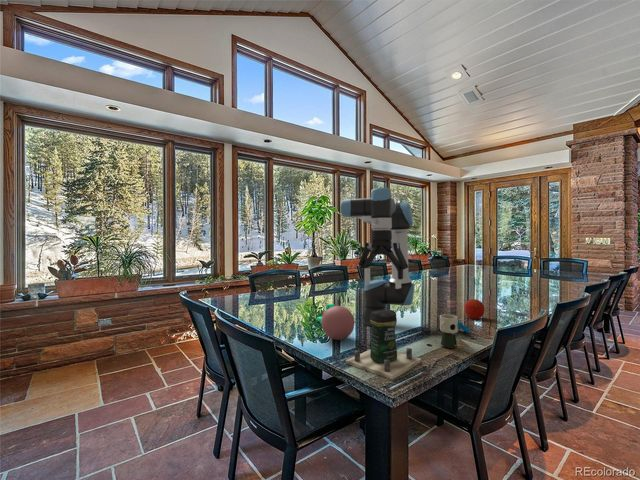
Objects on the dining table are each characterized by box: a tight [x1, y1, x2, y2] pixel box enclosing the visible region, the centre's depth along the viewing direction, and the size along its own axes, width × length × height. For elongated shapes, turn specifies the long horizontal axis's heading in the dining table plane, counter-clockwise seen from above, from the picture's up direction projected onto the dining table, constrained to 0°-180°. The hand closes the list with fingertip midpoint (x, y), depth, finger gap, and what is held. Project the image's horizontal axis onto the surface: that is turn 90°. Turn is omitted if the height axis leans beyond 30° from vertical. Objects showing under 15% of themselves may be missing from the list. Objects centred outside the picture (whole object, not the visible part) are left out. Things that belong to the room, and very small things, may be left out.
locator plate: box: [345, 347, 422, 380], centre depth 118 cm, size 20×20×5 cm
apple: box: [464, 298, 485, 320], centre depth 178 cm, size 10×10×12 cm
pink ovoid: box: [320, 305, 355, 341], centre depth 148 cm, size 15×20×15 cm
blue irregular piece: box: [457, 320, 471, 334], centre depth 153 cm, size 11×6×10 cm
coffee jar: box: [370, 309, 398, 363], centre depth 118 cm, size 10×8×19 cm
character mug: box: [439, 313, 459, 349], centre depth 134 cm, size 11×7×13 cm, turn 127°
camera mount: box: [316, 303, 336, 324], centre depth 174 cm, size 12×8×10 cm, turn 38°
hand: (382, 286), depth 118 cm, fingers open, 13 cm apart
